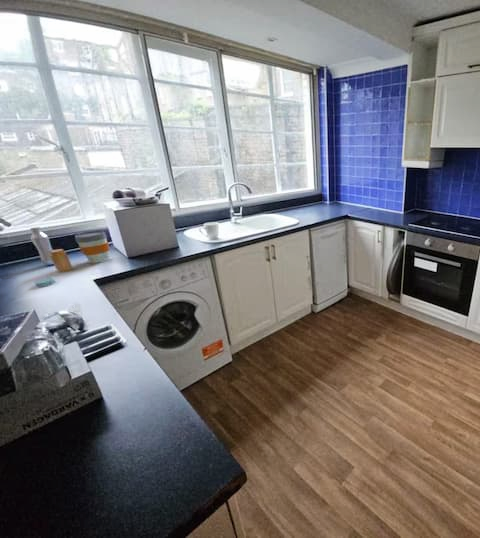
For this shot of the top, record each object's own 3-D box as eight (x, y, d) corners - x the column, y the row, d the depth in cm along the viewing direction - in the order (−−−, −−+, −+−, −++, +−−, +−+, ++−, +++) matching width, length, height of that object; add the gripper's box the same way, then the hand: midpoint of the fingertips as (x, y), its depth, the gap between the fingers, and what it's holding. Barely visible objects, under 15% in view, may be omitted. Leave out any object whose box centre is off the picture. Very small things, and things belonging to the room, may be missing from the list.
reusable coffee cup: (85, 266, 154) (73, 239, 148) (85, 260, 162) (74, 234, 157) (115, 260, 161) (105, 233, 155) (113, 254, 170) (104, 229, 164)
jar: (57, 273, 146) (47, 253, 142) (58, 269, 150) (48, 250, 146) (72, 269, 150) (63, 250, 146) (73, 266, 154) (64, 247, 150)
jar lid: (58, 282, 136) (56, 278, 135) (40, 288, 131) (38, 284, 130) (50, 280, 138) (49, 276, 138) (33, 285, 133) (31, 282, 132)
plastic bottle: (52, 266, 155) (35, 229, 147) (40, 266, 155) (21, 230, 147) (64, 261, 161) (47, 226, 153) (52, 262, 161) (35, 226, 153)
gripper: (-31, 211, 133) (10, 228, 142) (-55, 219, 118) (-7, 238, 126) (-22, 200, 134) (19, 217, 142) (-45, 207, 118) (3, 226, 127)
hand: (7, 227), depth 134 cm, fingers open, 8 cm apart
